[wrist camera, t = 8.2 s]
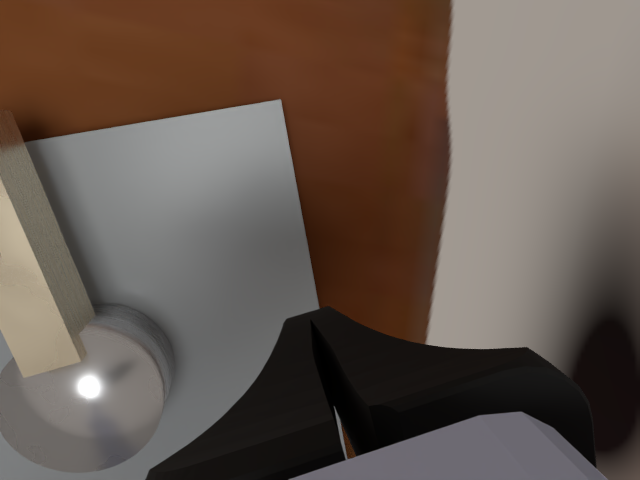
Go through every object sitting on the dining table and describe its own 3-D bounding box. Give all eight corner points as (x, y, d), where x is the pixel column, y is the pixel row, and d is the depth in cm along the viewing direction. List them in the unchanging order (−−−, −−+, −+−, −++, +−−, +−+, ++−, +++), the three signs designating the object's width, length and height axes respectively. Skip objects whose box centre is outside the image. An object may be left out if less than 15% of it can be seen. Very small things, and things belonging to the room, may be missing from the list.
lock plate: (346, 465, 24) (352, 486, 23) (-29, 569, 22) (-49, 599, 20) (278, 101, 19) (281, 98, 17) (-224, 186, 17) (-269, 190, 15)
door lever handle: (191, 401, 20) (180, 455, 17) (63, 440, 20) (24, 504, 16) (80, 100, 16) (36, 91, 13) (-83, 137, 16) (-174, 137, 12)
